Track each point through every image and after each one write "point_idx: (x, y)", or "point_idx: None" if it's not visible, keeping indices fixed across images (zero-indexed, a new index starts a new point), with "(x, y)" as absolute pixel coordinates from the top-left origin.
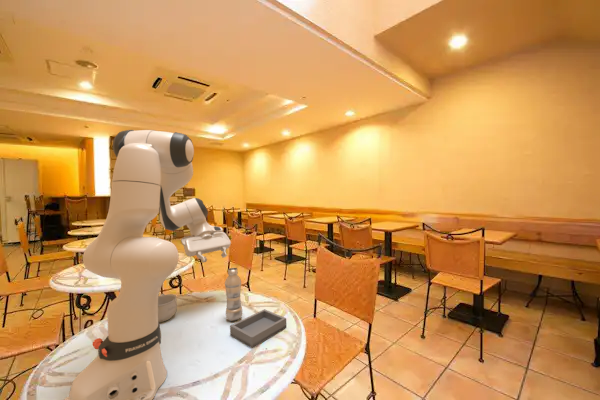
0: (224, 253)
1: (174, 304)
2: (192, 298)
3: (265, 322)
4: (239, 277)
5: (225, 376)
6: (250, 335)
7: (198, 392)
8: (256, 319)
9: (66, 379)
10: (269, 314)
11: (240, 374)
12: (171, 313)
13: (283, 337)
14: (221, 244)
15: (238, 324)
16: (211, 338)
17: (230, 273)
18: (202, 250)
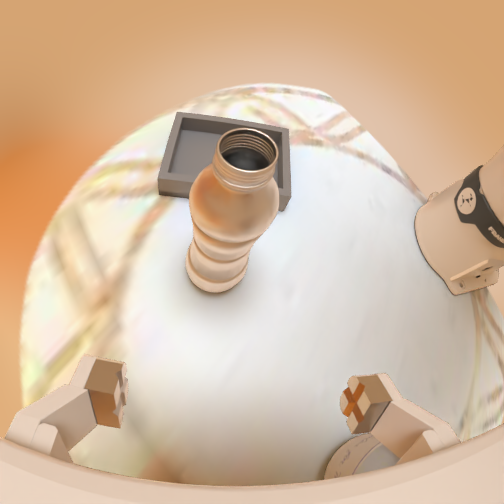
0: (98, 374)
1: (359, 448)
2: None
3: (192, 165)
4: (203, 170)
5: (352, 143)
6: (285, 134)
7: (388, 155)
8: None
9: (496, 338)
10: (172, 156)
11: (334, 129)
12: (359, 436)
13: None
14: (40, 477)
15: None
16: (320, 242)
17: (271, 155)
18: (421, 459)
